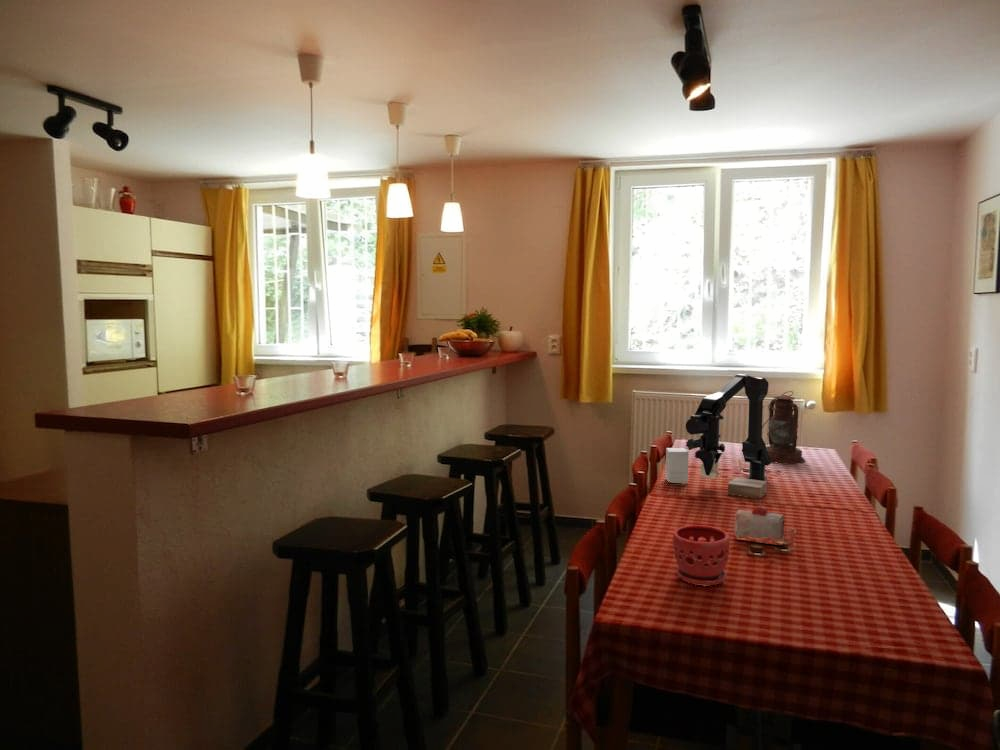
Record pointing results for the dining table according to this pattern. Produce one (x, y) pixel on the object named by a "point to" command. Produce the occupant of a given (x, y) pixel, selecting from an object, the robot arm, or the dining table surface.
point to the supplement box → (677, 465)
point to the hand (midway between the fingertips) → (709, 473)
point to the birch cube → (712, 474)
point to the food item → (759, 523)
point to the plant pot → (701, 554)
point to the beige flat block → (747, 487)
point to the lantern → (783, 431)
